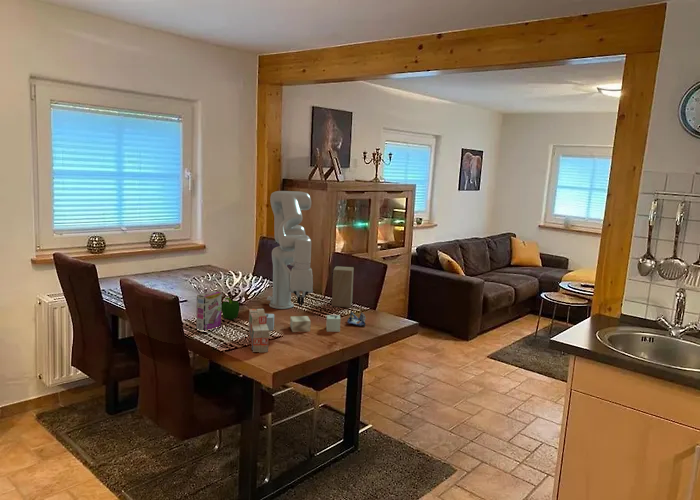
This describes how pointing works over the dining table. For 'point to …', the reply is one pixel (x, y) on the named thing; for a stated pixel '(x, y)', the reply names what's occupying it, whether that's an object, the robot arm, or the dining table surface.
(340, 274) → the wooden block
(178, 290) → the dining table surface
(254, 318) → the stack of blocks
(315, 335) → the dining table surface
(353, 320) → the snack package
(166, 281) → the dining table surface
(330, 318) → the sage numbered cube
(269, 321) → the grey-blue numbered cube
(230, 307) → the bell pepper
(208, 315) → the candy bar box
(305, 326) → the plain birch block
